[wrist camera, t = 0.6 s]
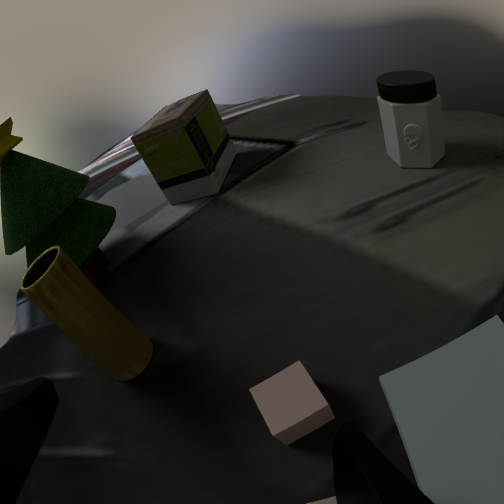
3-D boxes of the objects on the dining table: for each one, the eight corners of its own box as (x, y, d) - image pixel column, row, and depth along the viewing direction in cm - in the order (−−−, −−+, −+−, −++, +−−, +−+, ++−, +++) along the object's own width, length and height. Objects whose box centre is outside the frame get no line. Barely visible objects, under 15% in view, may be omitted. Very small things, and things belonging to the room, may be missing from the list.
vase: (157, 329, 32) (73, 232, 23) (150, 379, 27) (45, 284, 19) (116, 338, 33) (34, 253, 24) (106, 383, 29) (7, 300, 20)
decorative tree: (154, 250, 44) (45, 70, 26) (62, 338, 37) (-74, 173, 18) (115, 223, 57) (37, 96, 39) (46, 286, 50) (-44, 166, 32)
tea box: (195, 165, 64) (165, 104, 54) (238, 153, 60) (209, 87, 51) (169, 207, 53) (127, 136, 44) (219, 195, 49) (179, 113, 40)
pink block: (335, 418, 19) (328, 404, 17) (286, 445, 19) (273, 435, 17) (309, 379, 23) (299, 360, 20) (264, 405, 22) (249, 389, 20)
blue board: (563, 457, 8) (570, 454, 7) (435, 545, 9) (438, 547, 9) (494, 321, 19) (497, 314, 18) (379, 381, 20) (379, 376, 19)
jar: (385, 169, 39) (370, 86, 31) (388, 143, 44) (374, 72, 36) (447, 170, 34) (441, 84, 27) (442, 143, 39) (434, 69, 31)
